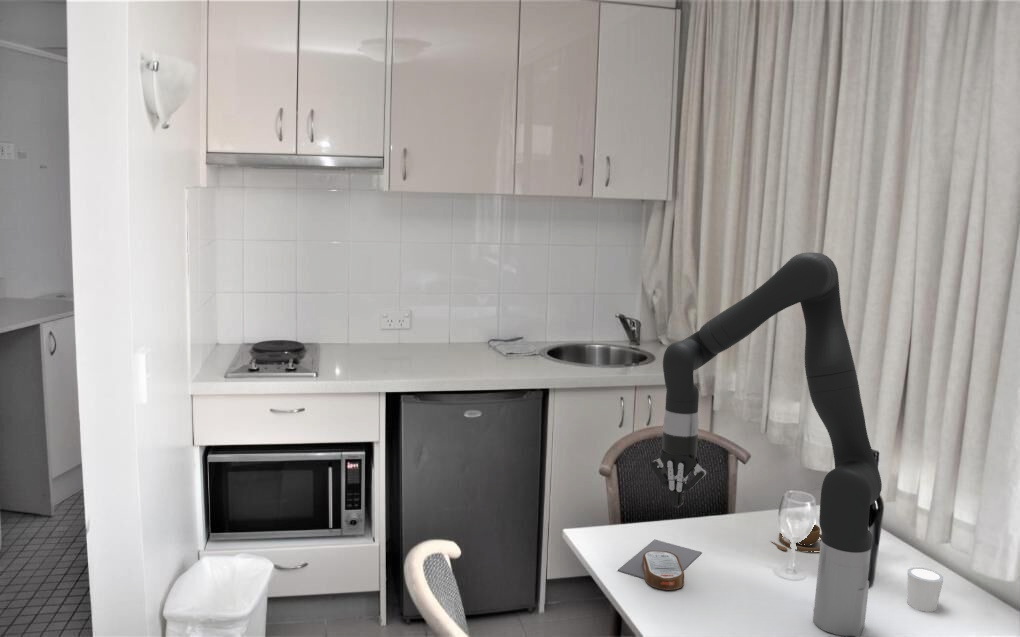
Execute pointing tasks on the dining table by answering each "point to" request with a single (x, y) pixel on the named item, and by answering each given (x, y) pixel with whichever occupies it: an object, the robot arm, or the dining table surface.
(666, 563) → the tin
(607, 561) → the dining table surface
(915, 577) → the white cup
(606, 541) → the dining table surface
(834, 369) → the robot arm
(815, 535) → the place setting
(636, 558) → the mat
